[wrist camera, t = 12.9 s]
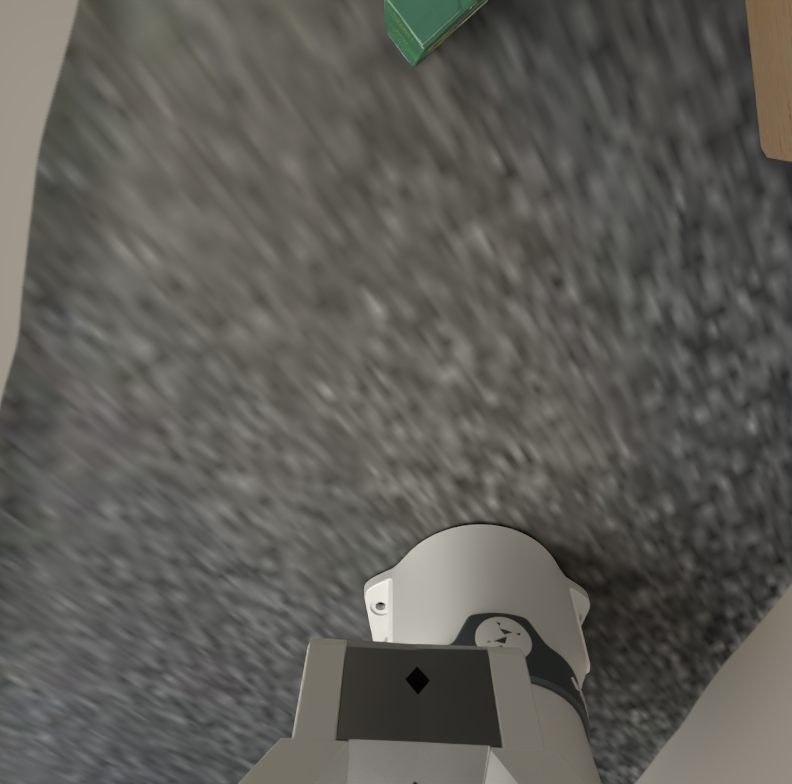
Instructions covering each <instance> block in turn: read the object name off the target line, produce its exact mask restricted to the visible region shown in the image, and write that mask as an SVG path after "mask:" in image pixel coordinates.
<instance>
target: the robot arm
mask: <svg viewBox="0 0 792 784" xmlns="http://www.w3.org/2000/svg"><path fill="white" fill-rule="evenodd" d="M364 596H365V602H366V607H367V612H368V617H369V622H370V627H371V632H372V637H373V641H365V640H351V639H347V641H346V640H340V639H328V638H315V637H311V640H310V642H309V644H308V648H307V654H306V659H305V665H304V671H303V677H302V682H301V688H300V694H299V700H298V705H297V711H296V717H295V723H294V728H293V734H292V738H280V739H279V740H278V741H277V742H276V743H275V745H274V746H273V747H272V748H271V749H270V750H269V751H268V752H267V753H266V754H265V755H264V756H263V757H262V758H261V759H260V761H259V762H258V763H257V764H256V765H255V766H254V767H253V768H252V769H251V770H250V771H249V772H248V773H247V774H246V775H245V776H244V778H243V779H242V780H241V781H240V782H239V783H238V784H601V781H600V778H599V775H598V772H597V769H596V766H595V763H594V760H593V756H592V753H591V750H590V747H589V741H590V725H589V720H588V711H587V706H586V702H585V699H584V695H583V693H582V691H581V688H582V684H583V681H584V679H585V675H586V674H587V673H589V672H590V661H589V657H588V653H587V648H586V644H585V640H584V636H583V632H582V628H581V626H582V624H583V622H584V620H585V618H586V615H587V613H588V611H589V609H590V601H589V596H588V594H587V592H586V591H585V590H584V589H583V588H582V587H580V586H579V585H578V584H576V583H575V582H573V581H572V580H570V579H568V578H567V577H566V576H565V575H564V574H563V573H562V571H561V570H560V568H559V567H558V565H557V563H556V562H555V560H554V558H553V557H552V556H551V554H550V553H549V552H548V551H547V550H546V549H545V548H544V547H543V546H542V545H541V544H540V543H538V542H537V541H535V540H534V539H532V538H531V537H529V536H527V535H525V534H523V533H521V532H519V531H516V530H513V529H510V528H506V527H501V526H496V525H483V524H478V525H465V526H459V527H455V528H451V529H447V530H445V531H442V532H439V533H437V534H435V535H433V536H431V537H429V538H427V539H425V540H424V541H422V542H421V543H419V544H418V545H417V546H416V547H414V548H413V549H412V550H411V551H410V552H409V553H408V554H407V555H406V556H405V557H404V558H403V559H402V560H401V562H400V563H398V564H397V565H396V566H395V567H394V568H392V569H390V570H387V571H385V572H383V573H381V574H379V575H377V576H375V577H373V578H372V579H370V580H369V581H368V582H367V583H366V584H365V586H364ZM378 602H382V603H384V604H378Z"/></svg>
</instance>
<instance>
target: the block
mask: <svg viewBox="0 0 792 784" xmlns="http://www.w3.org/2000/svg"><path fill="white" fill-rule="evenodd" d="M745 2H746V12H747V21H748V30H749V40H750V49H751V58H752V68H753V77H754V87H755V96H756V105H757V115H758V124H759V134H760V143H761V148H762V150H763V152H764V153H765V155H766V156H767V158H772V159H778V160H784V161H790V162H792V0H745Z"/></svg>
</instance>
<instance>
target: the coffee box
mask: <svg viewBox="0 0 792 784" xmlns="http://www.w3.org/2000/svg"><path fill="white" fill-rule="evenodd" d="M487 1H489V0H384V6H385V30H386V32H387V34H388V35H389V36H390V38H391V39H392V40H393V42H394V43H395V44H396V46H397V47H398V49H399V50H400V51H401V53H402V54H403V55H404V57H405V58H406V59H407V61H408V62H409V63H410V64H411V66H412V67H415V66H416V65H417V64H419V63H420V62H421V61H422V60H423V59H424V58H425V57H426V56H428V55H429V54H430V53H431V52H432V51H433V50H434V49H435V48H437V47H438V46H439V45H440V44H441V43H443V42H444V41H445V40H446V39H447V38H448V37H449V36H450V35H451V34H452V33H453V32H454V31H456V30H457V29H458V28H459V27H460V26H461V25H462V24H463V23H464V22H465V21H467V20H468V19H469V18H470V17H471V16H472V15H473V14H474V13H476V11H478V10H479V9H480V8H481V7H482V6H483V5H484V4H485V3H486V2H487Z"/></svg>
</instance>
